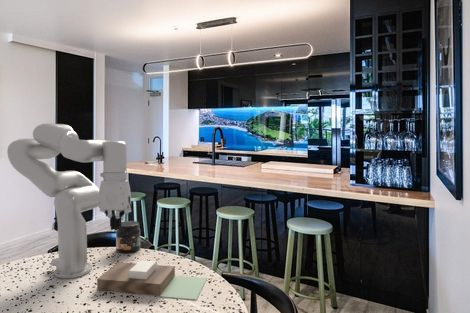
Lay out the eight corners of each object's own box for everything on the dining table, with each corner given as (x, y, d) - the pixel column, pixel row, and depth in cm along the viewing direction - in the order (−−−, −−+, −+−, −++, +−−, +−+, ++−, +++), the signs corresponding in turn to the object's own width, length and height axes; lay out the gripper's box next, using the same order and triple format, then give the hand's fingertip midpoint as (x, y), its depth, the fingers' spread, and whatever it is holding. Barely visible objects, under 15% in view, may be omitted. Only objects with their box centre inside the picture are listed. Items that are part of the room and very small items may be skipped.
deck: (97, 290, 105) (97, 279, 105) (118, 272, 119) (118, 262, 118) (160, 296, 102) (160, 284, 102) (174, 277, 116) (174, 266, 115)
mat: (160, 297, 101) (160, 296, 101) (175, 276, 116) (175, 275, 116) (196, 300, 100) (196, 299, 100) (206, 278, 115) (206, 278, 115)
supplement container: (110, 252, 139) (110, 225, 138) (125, 244, 149) (125, 219, 148) (131, 255, 136) (131, 228, 135) (145, 247, 146) (145, 221, 145)
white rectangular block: (129, 277, 106) (129, 270, 106) (140, 266, 115) (140, 260, 114) (146, 279, 105) (146, 272, 105) (156, 268, 114) (156, 261, 114)
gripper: (88, 177, 106) (89, 230, 107) (130, 178, 104) (131, 233, 105) (100, 174, 114) (101, 224, 115) (140, 176, 112) (141, 227, 113)
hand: (115, 228), depth 110 cm, fingers closed
